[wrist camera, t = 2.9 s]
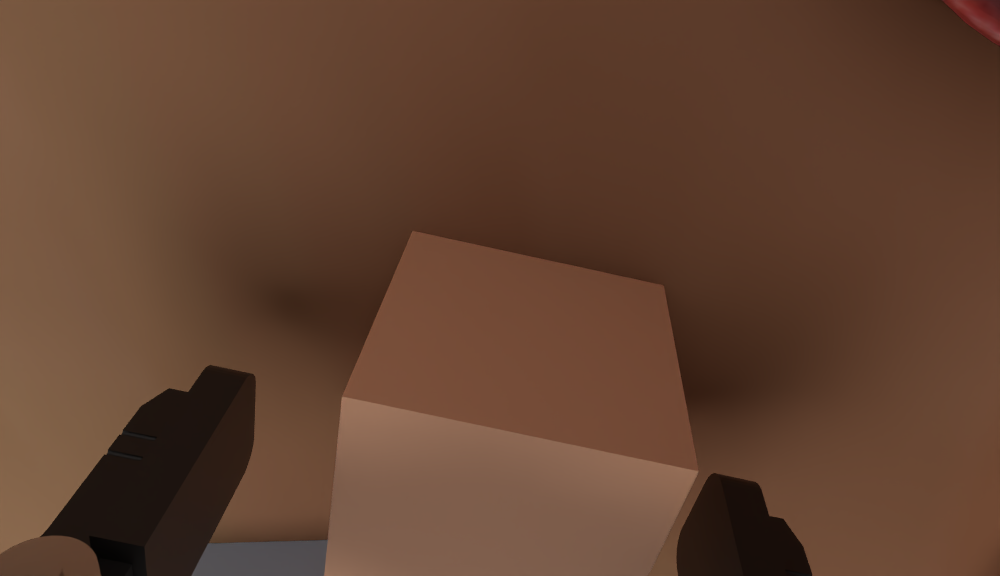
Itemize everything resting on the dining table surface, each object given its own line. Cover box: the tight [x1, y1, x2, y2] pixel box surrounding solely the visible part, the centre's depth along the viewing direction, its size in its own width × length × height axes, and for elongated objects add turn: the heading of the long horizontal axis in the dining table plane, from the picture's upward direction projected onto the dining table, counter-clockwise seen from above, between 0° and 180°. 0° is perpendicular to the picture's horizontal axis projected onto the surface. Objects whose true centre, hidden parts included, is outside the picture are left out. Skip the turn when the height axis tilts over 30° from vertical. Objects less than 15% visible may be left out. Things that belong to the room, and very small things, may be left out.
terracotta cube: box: [324, 231, 699, 576], centre depth 13 cm, size 5×5×5 cm
